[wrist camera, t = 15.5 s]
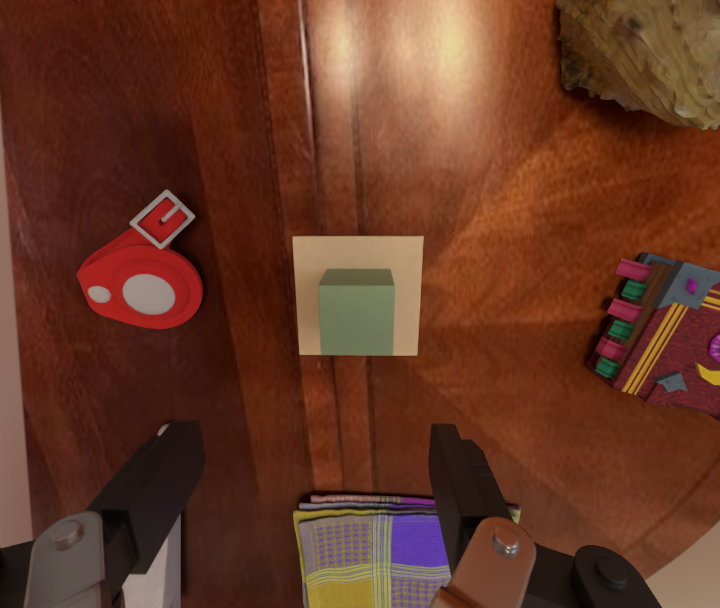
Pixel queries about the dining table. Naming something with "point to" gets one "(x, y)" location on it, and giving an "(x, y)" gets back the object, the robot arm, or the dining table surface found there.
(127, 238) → the tracker holder
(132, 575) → the white cone
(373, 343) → the green block
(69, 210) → the dining table surface
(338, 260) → the sand mat
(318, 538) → the dish towel
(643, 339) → the decorative book
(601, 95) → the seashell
